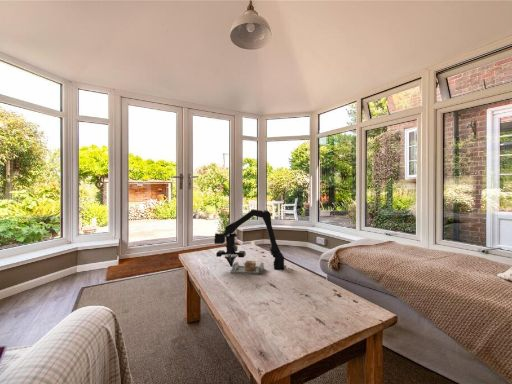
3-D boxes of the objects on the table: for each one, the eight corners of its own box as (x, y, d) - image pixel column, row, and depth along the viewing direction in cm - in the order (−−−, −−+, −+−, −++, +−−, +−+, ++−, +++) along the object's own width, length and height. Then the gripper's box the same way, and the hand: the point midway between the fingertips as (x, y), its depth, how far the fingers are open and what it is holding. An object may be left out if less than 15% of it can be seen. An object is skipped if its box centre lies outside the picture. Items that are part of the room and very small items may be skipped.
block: (255, 268, 158) (255, 261, 158) (254, 271, 154) (254, 263, 154) (246, 268, 159) (246, 260, 159) (245, 270, 155) (244, 262, 155)
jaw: (238, 266, 162) (238, 262, 162) (235, 270, 155) (235, 265, 155) (235, 266, 163) (235, 261, 162) (232, 270, 155) (232, 265, 155)
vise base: (263, 268, 160) (263, 262, 160) (261, 274, 150) (260, 267, 150) (234, 267, 164) (234, 261, 164) (230, 273, 154) (230, 266, 154)
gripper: (247, 240, 165) (248, 263, 165) (221, 240, 168) (222, 262, 169) (243, 244, 154) (244, 268, 154) (215, 244, 158) (216, 267, 158)
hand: (231, 266), depth 159 cm, fingers closed
